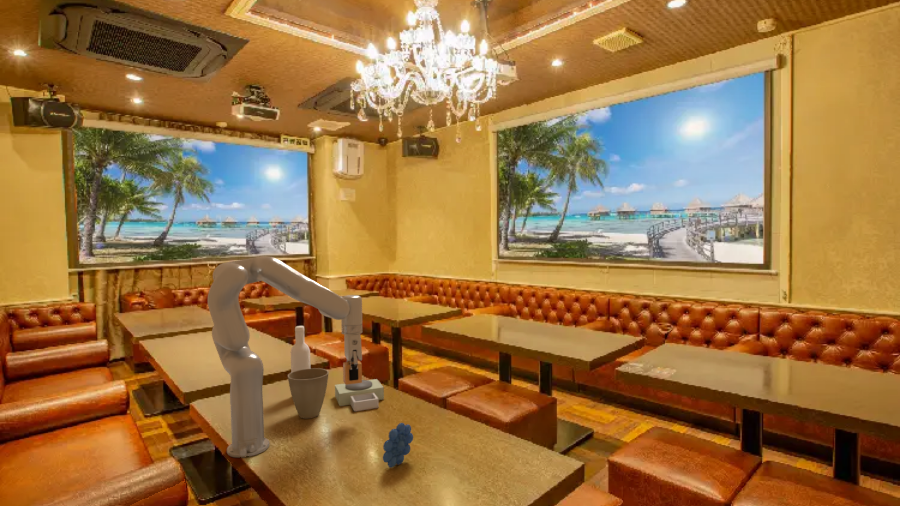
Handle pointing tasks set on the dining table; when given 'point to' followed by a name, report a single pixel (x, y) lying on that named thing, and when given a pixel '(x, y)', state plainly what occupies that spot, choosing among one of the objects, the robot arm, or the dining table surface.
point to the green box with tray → (360, 394)
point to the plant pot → (308, 390)
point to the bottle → (300, 351)
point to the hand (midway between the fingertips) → (352, 377)
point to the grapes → (397, 444)
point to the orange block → (346, 373)
